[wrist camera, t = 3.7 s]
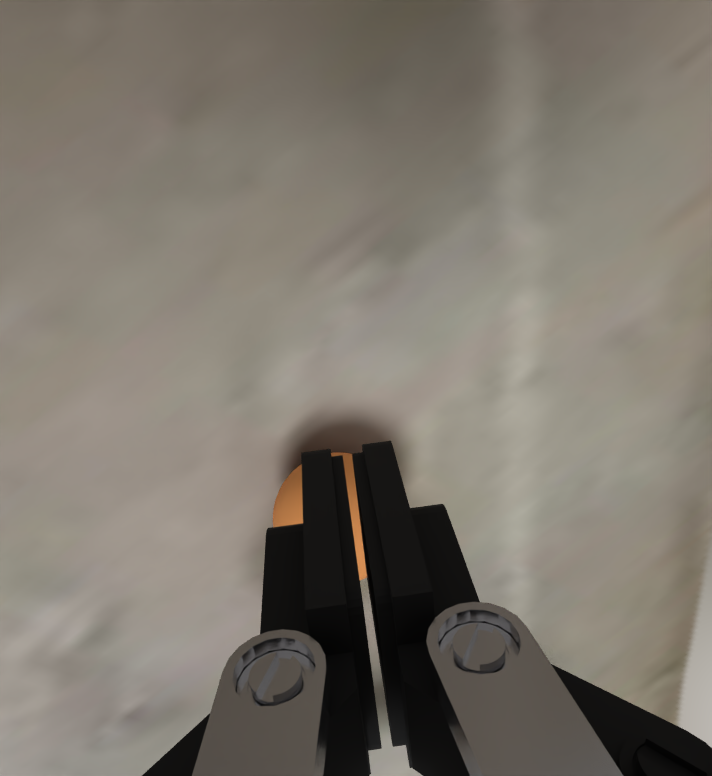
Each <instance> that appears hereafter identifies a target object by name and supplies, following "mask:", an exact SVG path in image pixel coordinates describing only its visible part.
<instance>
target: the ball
mask: <svg viewBox="0 0 712 776" xmlns="http://www.w3.org/2000/svg"><path fill="white" fill-rule="evenodd" d="M339 455H343V461H344V469H345V476H346V484H347V491H348V498H349V506H350V513H351V520H352V528H353V535H354V542H355V550H356V557H357V564H358V572H359V579H360V580H362V579H364V578H366V577H367V573H366V565H365V557H364V549H363V541H362V533H361V525H360V517H359V508H358V500H357V492H356V484H355V476H354V468H353V460H352V454H350V453H339V452H335V453H331V457H332V456H339ZM301 523H303V500H302V464H301V465H300V466H298V467H297V468H296V469H295V470H294V471H293V472H292V473H291V474H290V475H289V476H288V477H287V479H286V480H285V481H284V483H283V484H282V486H281V488H280V490H279V492H278V495H277V498H276V500H275V505H274V511H273V526H274V527H279V526H287V525H294V524H301Z"/></svg>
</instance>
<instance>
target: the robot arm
mask: <svg viewBox="0 0 712 776" xmlns="http://www.w3.org/2000/svg"><path fill="white" fill-rule="evenodd" d="M362 450H363V452H362V453H354V454H352V460H353V468H354V476H355V484H356V492H357V500H358V508H359V517H360V525H361V533H362V541H363V549H364V557H365V565H366V573H367V580H368V587H369V594H370V600H371V607H372V614H373V620H374V627H375V633H376V640H377V647H378V653H379V660H380V666H381V673H382V680H383V686H384V693H385V699H386V706H387V713H388V719H389V726H390V732H391V739H392V745H393V747H394V746H401V745H406V748H407V754H408V760H409V766H410V768H412V767H413V769H415V770H416V771H417V772H419V773H420V774H422V775H423V776H712V748H711V747H710V746H708V745H707V744H706V743H705V742H704V741H702V740H700V739H699V738H697V737H696V736H694V735H692V734H691V733H689V732H688V731H686V730H684V729H682V728H680V727H678V726H676V725H674V724H672V723H670V722H668V721H666V720H664V719H662V718H660V717H658V716H656V715H653V714H651V713H649V712H647V711H645V710H643V709H641V708H639V707H637V706H635V705H633V704H631V703H629V702H627V701H625V700H623V699H621V698H619V697H617V696H615V695H613V694H611V693H609V692H607V691H605V690H603V689H601V688H599V687H597V686H595V685H593V684H591V683H588V682H586V681H584V680H582V679H580V678H578V677H576V676H574V675H572V674H570V673H568V672H566V671H564V670H562V669H560V668H558V667H556V666H554V665H552V664H551V663H550V662H549V660H548V659H547V657H546V656H545V654H544V653H543V651H542V649H541V648H540V646H539V645H538V643H537V642H536V640H535V639H534V637H533V636H532V634H531V633H530V631H529V629H528V628H527V626H526V625H525V624H524V623H523V622H522V621H521V620H520V619H519V618H518V616H516V615H515V614H513V613H512V612H510V611H508V610H507V609H505V608H503V607H500V606H497V605H494V604H491V603H482V602H480V601H479V599H478V596H477V593H476V590H475V588H474V585H473V582H472V579H471V577H470V574H469V571H468V568H467V566H466V563H465V560H464V557H463V555H462V552H461V549H460V546H459V544H458V541H457V538H456V535H455V532H454V530H453V527H452V524H451V521H450V519H449V516H448V513H447V510H446V508H445V506H444V505H443V504H438V505H431V506H424V507H416V508H410V507H409V503H408V500H407V496H406V493H405V489H404V485H403V482H402V478H401V475H400V471H399V467H398V464H397V460H396V457H395V453H394V449H393V446H392V443H391V441H386V442H378V443H371V444H363V445H362ZM301 459H302V500H303V523H301V524H294V525H287V526H279V527H272V528H268V529H267V532H266V545H265V562H264V579H263V596H262V613H261V630H260V635H258V636H255V637H252V638H251V639H250V640H248V641H247V642H245V643H244V644H242V645H241V646H239V647H238V649H237V650H236V651H235V652H234V653H233V654H232V655H231V656H230V658H229V659H228V661H227V663H226V666H225V668H224V670H223V672H222V676H221V679H220V682H219V686H218V689H217V692H216V696H215V699H214V703H213V706H212V709H211V713H210V714H209V715H208V716H207V717H205V718H204V719H203V720H202V721H201V722H200V723H199V724H198V725H197V726H196V727H195V728H193V729H192V730H191V731H190V732H189V733H188V734H187V735H186V736H185V737H184V738H183V739H182V740H180V741H179V742H178V743H177V744H176V745H175V746H174V747H173V748H172V749H171V750H170V751H168V752H167V753H166V754H165V755H164V756H163V757H162V758H161V759H160V760H159V761H158V762H156V763H155V764H154V765H153V766H152V767H151V768H150V769H149V770H148V771H147V772H146V773H144V774H143V775H142V776H369V775H370V774H371V772H370V763H369V754H368V750H374V749H381V740H380V732H379V725H378V717H377V709H376V702H375V694H374V686H373V678H372V671H371V663H370V655H369V648H368V640H367V632H366V624H365V617H364V609H363V601H362V594H361V587H360V579H359V572H358V564H357V557H356V550H355V542H354V535H353V528H352V520H351V513H350V506H349V498H348V491H347V484H346V476H345V469H344V461H343V455H339V456H332V457H331V450H330V449H326V450H319V451H311V452H304V453H301Z"/></svg>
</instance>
